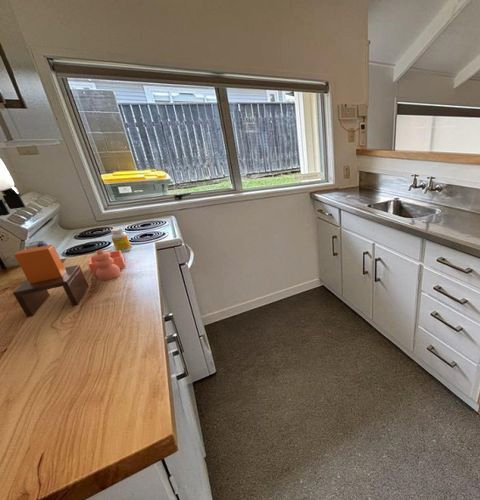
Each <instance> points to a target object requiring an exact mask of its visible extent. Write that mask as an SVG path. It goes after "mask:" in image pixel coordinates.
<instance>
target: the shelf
mask: <svg viewBox="0 0 480 500" xmlns="http://www.w3.org/2000/svg"><path fill="white" fill-rule="evenodd" d="M64 268H65V270H66V273H65V274H64V275H63V277H59V278H55V279H50V280H45V281H40V282H35V283H29V281H28V279H27V278H26V279H25V280H24V282H22V283H21V284H20V285H19V286H18V287H17V288H15V290H14V291H13V292H12V294H13V296H14V297H15V299H16V301H17V303H18V305H19V306H20V307H21V309H22V311H23V313H24V314H25V317H27V318H30V317H34V315H35V314H36V313H37V312H38V311H39V309H41V306H43V304H44V303H45V302H46V300H47V299H49V297H50V295H51V294H50V293H49V291H48V290H52V289H56V288H60V287H62V288H63V290H64V291H65V293H66V295H67V297H68V300H69V301H70V304H71V306H72V307H75V306H79V304H80V303H81V301H82V299H83V297H84V296H85V295H86V292H87V291H88V289H89V288H90V285H89V283H88V281H87V278H86V277H85V274H84V272H83V270H82V268H81V266H80V264H76V265H71V266H66V267H65V266H64Z"/></svg>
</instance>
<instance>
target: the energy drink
mask: <svg viewBox="0 0 480 500" xmlns="http://www.w3.org/2000/svg"><path fill="white" fill-rule="evenodd" d="M48 245H49V244H48V243H47V242H46V241H45V240H38V241H32V242H29V243H26V244H24V249H30V248H36V247H42V246H48Z"/></svg>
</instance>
